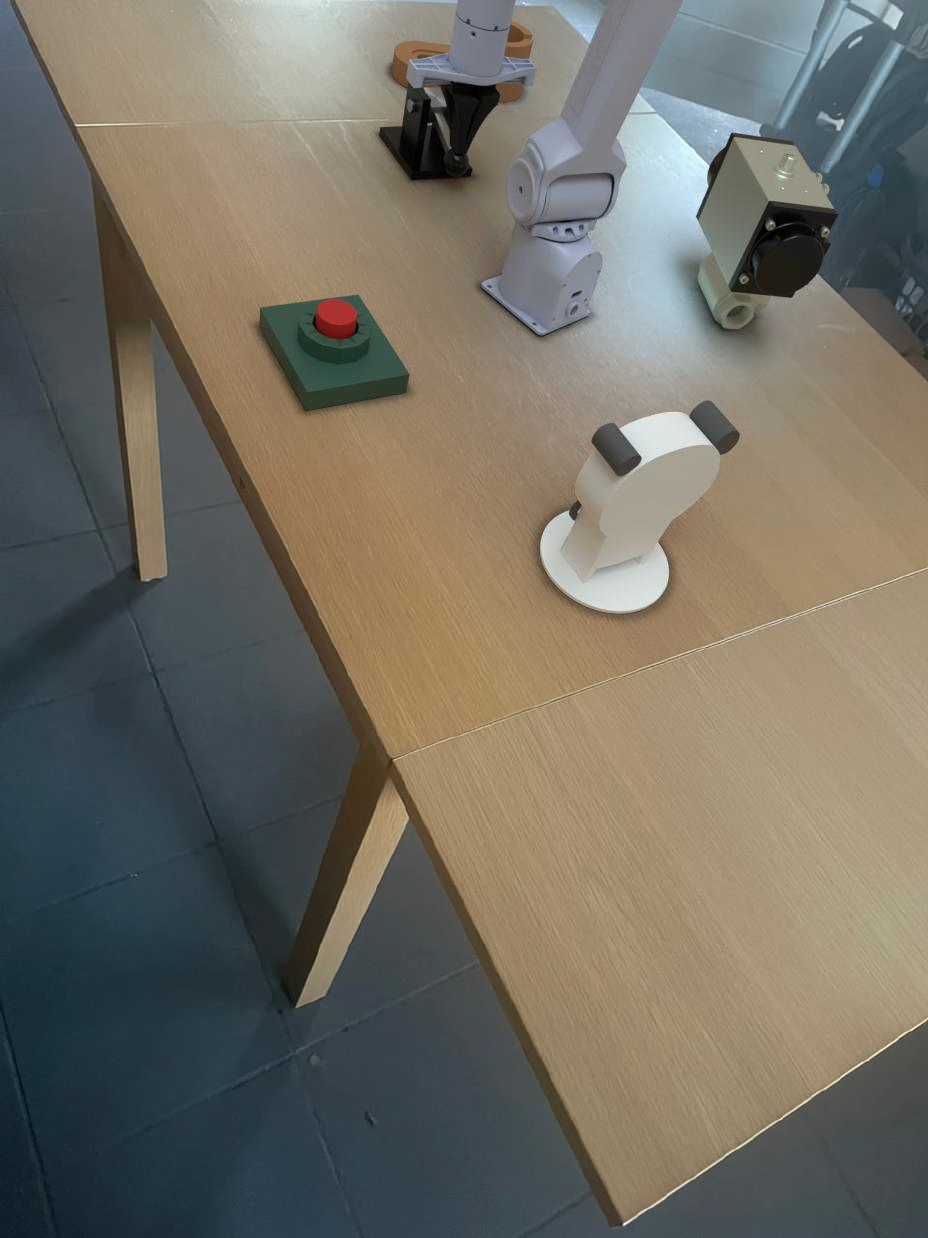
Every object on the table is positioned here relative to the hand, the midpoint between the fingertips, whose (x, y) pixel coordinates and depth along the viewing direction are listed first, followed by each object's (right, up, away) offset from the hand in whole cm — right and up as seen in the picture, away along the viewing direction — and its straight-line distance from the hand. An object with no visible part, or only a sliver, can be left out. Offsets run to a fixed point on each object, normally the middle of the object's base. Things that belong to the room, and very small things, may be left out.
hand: (458, 149), depth 105 cm
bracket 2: (-4, +3, +7) cm, 9 cm away
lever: (-2, +2, +3) cm, 4 cm away
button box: (-12, -29, -18) cm, 36 cm away
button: (-11, -27, -21) cm, 36 cm away
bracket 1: (0, +19, +21) cm, 28 cm away
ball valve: (+30, -18, +1) cm, 35 cm away
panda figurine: (+13, -48, -26) cm, 56 cm away
